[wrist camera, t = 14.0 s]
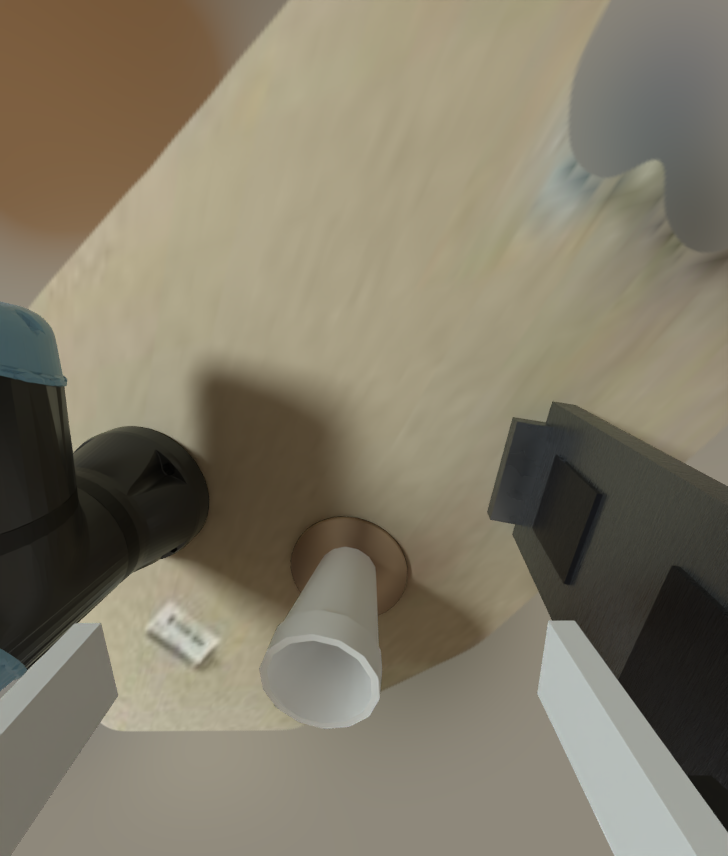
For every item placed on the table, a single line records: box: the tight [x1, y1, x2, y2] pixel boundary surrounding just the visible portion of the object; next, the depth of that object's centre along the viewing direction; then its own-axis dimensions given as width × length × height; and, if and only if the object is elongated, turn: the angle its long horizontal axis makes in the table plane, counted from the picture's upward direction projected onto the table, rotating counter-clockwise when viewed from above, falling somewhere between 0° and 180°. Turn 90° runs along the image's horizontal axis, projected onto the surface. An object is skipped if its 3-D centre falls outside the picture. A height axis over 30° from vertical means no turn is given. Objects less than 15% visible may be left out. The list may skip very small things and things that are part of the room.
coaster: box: [291, 517, 407, 615], centre depth 40 cm, size 13×13×1 cm
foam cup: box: [259, 547, 382, 729], centre depth 34 cm, size 10×9×13 cm
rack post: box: [487, 402, 728, 790], centre depth 21 cm, size 5×14×30 cm, turn 172°
